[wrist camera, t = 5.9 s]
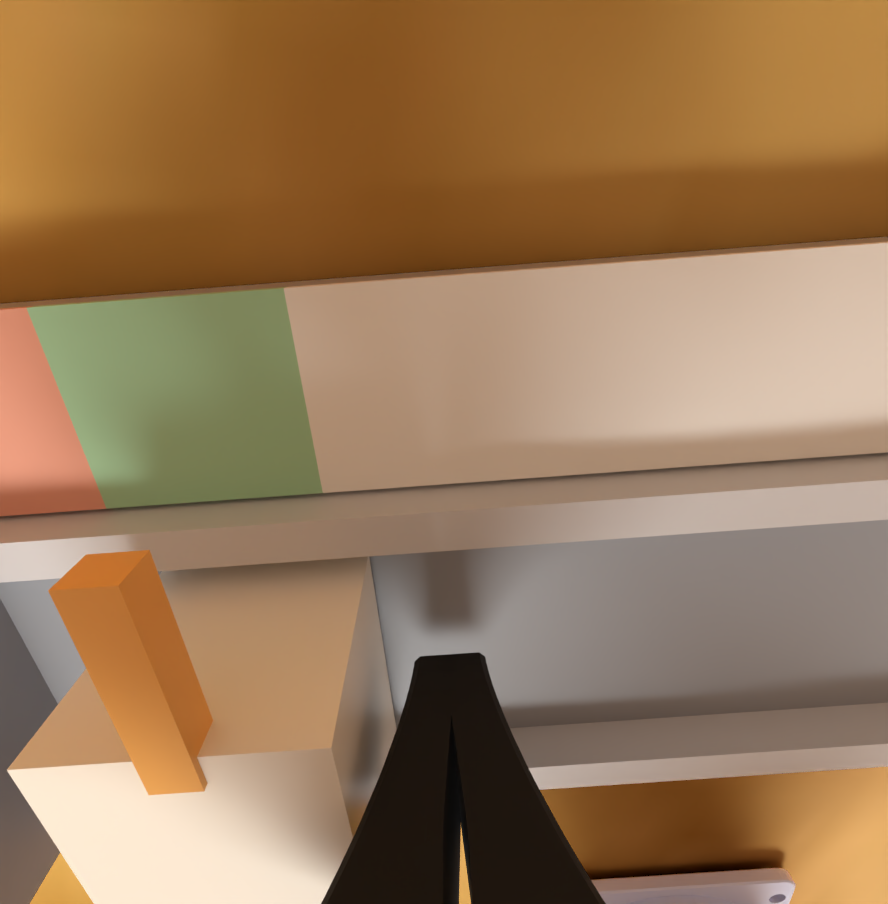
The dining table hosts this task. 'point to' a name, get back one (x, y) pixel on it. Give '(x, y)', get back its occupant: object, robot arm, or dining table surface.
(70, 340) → the gauge board
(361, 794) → the gauge slider
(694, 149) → the dining table surface
